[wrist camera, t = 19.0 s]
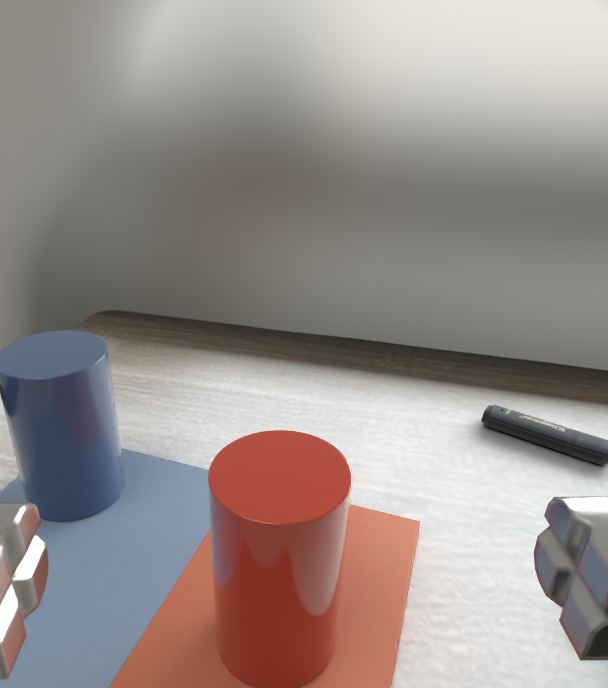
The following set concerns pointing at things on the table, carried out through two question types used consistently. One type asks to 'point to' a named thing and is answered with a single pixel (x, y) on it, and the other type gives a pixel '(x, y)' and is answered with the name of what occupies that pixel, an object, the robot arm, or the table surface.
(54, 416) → the navy blue cylinder
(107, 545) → the sorting board
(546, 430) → the usb stick
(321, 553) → the red upright cylinder
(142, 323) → the table surface
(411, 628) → the table surface
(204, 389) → the table surface
